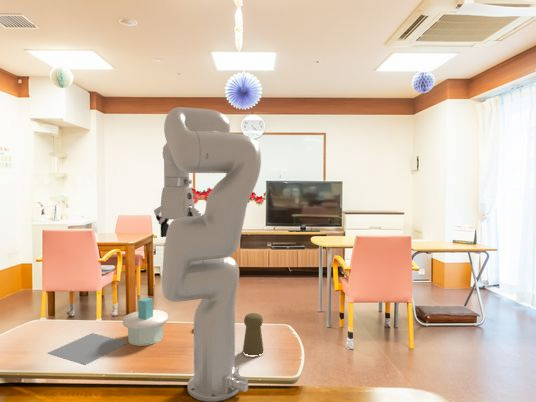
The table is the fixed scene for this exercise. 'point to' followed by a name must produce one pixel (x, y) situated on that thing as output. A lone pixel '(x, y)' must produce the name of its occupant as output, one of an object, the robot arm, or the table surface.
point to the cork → (253, 334)
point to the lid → (145, 316)
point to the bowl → (145, 336)
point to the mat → (88, 348)
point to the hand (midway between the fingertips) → (177, 237)
